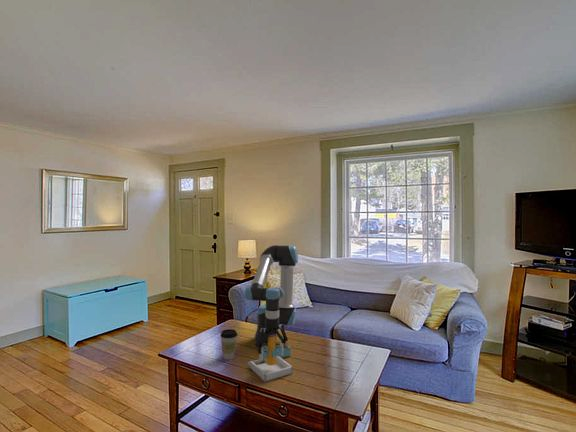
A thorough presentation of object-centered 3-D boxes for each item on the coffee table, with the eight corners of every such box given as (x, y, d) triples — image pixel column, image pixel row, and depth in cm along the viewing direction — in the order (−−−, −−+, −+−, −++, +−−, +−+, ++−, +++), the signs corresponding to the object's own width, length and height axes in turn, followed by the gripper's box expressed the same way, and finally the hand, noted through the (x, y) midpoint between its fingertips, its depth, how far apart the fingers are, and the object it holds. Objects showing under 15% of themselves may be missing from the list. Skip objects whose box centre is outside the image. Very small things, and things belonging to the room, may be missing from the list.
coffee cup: (233, 361, 176) (233, 335, 177) (217, 359, 178) (217, 334, 179) (239, 354, 186) (239, 329, 186) (224, 352, 188) (224, 328, 188)
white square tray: (273, 358, 182) (273, 352, 182) (292, 373, 164) (292, 366, 164) (247, 365, 173) (247, 358, 173) (264, 381, 155) (264, 375, 155)
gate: (288, 354, 187) (289, 344, 187) (290, 355, 185) (290, 345, 185) (262, 361, 177) (263, 350, 177) (264, 362, 176) (264, 352, 176)
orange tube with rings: (285, 361, 170) (285, 333, 170) (278, 369, 160) (278, 340, 160) (264, 357, 174) (265, 330, 174) (257, 365, 164) (257, 337, 164)
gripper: (287, 312, 177) (286, 349, 177) (249, 318, 164) (248, 359, 164) (294, 315, 171) (293, 354, 170) (255, 322, 158) (254, 364, 157)
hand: (271, 356), depth 167 cm, fingers closed on orange tube with rings, 12 cm apart
